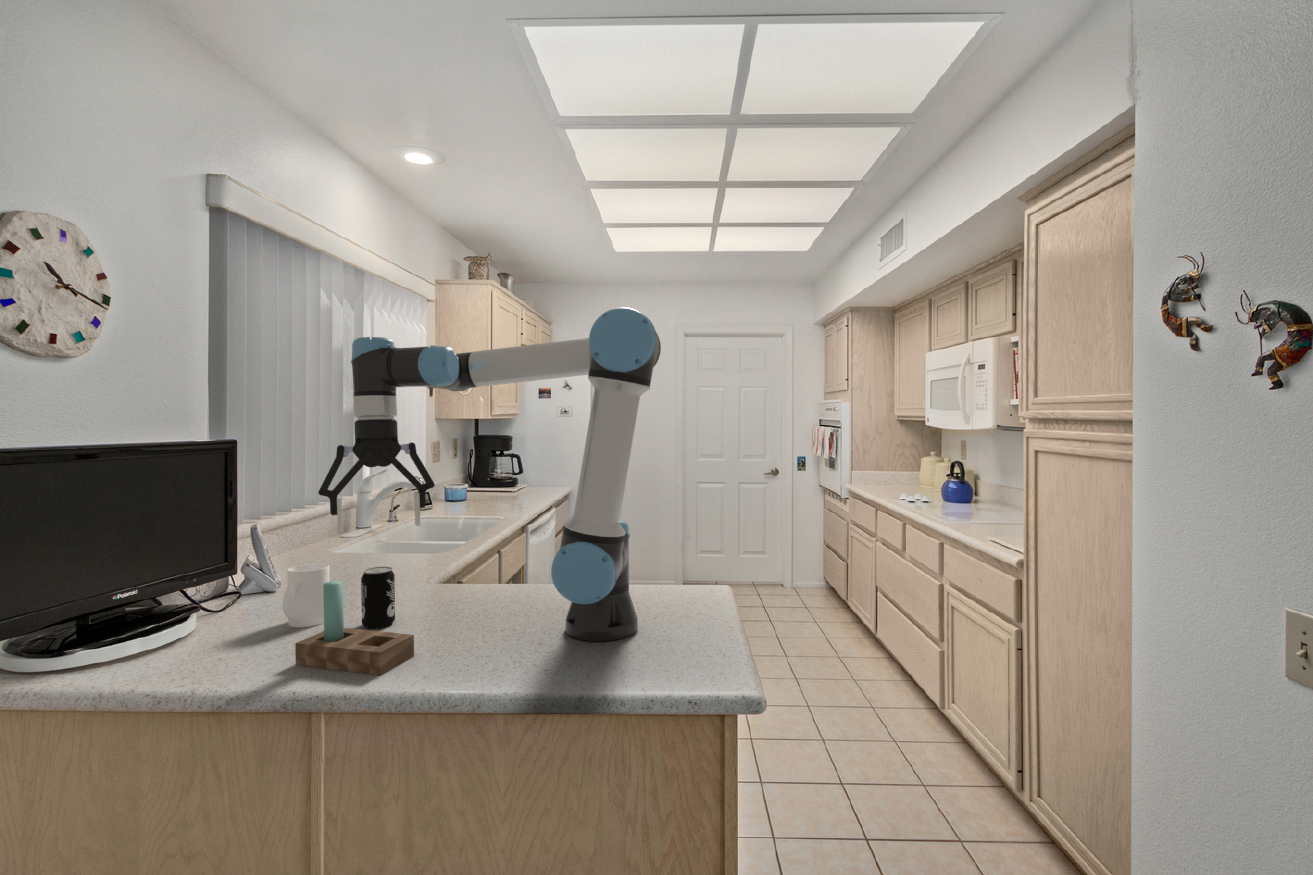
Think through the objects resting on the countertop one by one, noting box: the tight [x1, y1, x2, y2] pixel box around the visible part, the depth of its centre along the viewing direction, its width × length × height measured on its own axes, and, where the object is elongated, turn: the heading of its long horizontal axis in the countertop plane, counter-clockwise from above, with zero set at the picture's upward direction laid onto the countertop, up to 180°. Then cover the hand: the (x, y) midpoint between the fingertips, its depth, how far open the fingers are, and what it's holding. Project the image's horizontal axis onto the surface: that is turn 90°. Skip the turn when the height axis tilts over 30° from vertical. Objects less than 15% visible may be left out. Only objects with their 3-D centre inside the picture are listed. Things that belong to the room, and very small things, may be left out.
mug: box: [282, 562, 331, 628], centre depth 131 cm, size 8×12×12 cm
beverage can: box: [360, 566, 396, 630], centre depth 130 cm, size 7×7×12 cm
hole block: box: [294, 627, 415, 676], centre depth 110 cm, size 18×9×4 cm, turn 75°
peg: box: [323, 580, 345, 642], centre depth 112 cm, size 3×3×14 cm
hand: (380, 528), depth 117 cm, fingers open, 13 cm apart
